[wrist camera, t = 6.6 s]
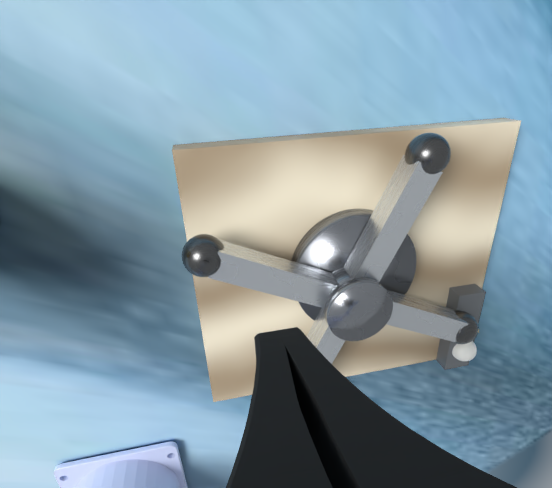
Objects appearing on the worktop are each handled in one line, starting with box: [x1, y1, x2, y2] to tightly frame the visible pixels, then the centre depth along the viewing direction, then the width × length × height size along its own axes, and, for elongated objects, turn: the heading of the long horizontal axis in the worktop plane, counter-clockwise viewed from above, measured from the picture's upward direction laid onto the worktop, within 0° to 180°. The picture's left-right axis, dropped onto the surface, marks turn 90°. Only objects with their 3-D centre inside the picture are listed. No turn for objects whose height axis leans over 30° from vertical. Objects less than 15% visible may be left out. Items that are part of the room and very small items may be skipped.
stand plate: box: [172, 118, 521, 402], centre depth 22 cm, size 16×18×1 cm
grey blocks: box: [436, 284, 486, 370], centre depth 25 cm, size 6×2×2 cm, turn 2°
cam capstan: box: [182, 133, 478, 364], centre depth 20 cm, size 18×18×4 cm
